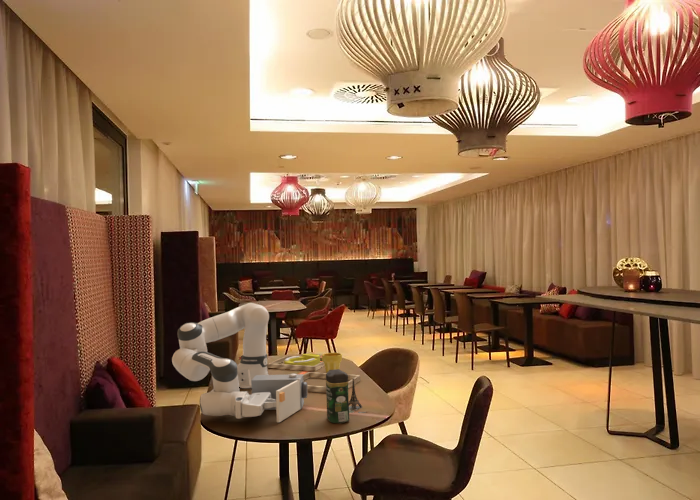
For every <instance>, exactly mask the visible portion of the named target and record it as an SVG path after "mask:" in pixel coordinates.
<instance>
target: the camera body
mask: <svg viewBox="0 0 700 500" xmlns="http://www.w3.org/2000/svg"><path fill="white" fill-rule="evenodd" d="M303 375H304V374H301V373H299V374H298V373H289V374H268V375H256V376H255V377H254V378H253V379H252V388H251V394H253V393H260V392H270V393H271V399H275V400H276V391H277V390H279V389H281V388H283V387H285V386H286V385H288V384H290V383H292V382H294V381H296V380H297V378H300V383H301V409H300V410H302V409H303V406H304V405H305V399H307V398H308V387H307V385H308V382H307V381H303ZM267 410H268V411H269V410H270V411H274V410H276V407H272V408H265V410H264V411H267Z"/></svg>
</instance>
